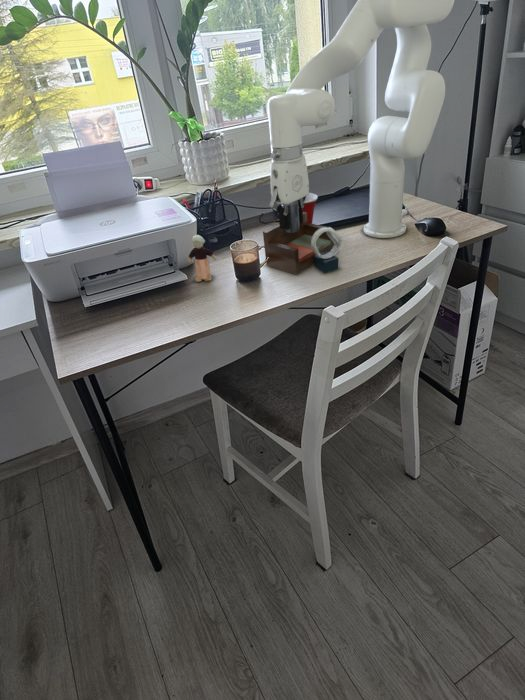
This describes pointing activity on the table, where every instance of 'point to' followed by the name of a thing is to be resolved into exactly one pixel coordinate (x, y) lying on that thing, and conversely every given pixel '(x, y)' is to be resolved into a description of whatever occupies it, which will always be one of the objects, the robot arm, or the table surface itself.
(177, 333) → the table surface
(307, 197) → the plastic cup
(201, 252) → the grandmother figurine
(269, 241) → the sofa
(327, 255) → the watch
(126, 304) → the table surface
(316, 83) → the robot arm
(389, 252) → the table surface
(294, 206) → the pepper pot
